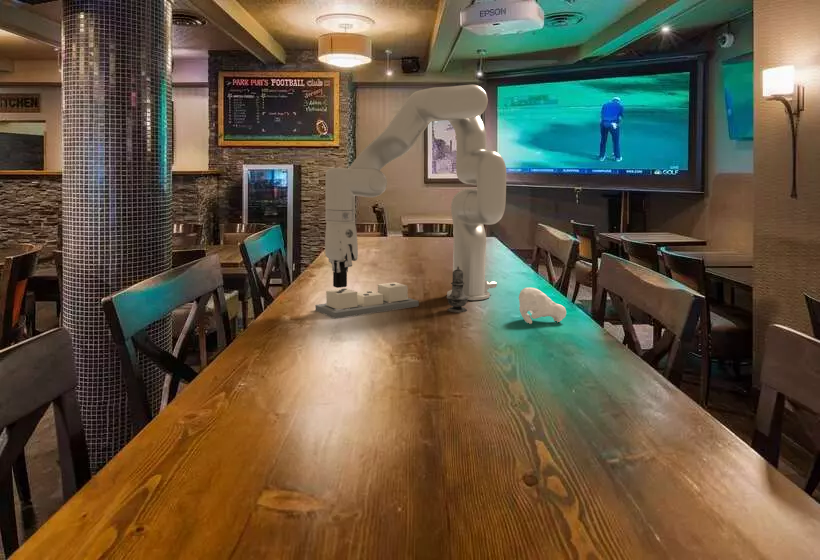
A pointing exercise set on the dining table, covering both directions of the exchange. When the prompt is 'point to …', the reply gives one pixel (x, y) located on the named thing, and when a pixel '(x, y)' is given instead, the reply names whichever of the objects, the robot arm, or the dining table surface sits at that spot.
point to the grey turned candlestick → (457, 293)
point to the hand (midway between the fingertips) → (340, 286)
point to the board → (366, 308)
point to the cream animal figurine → (539, 305)
